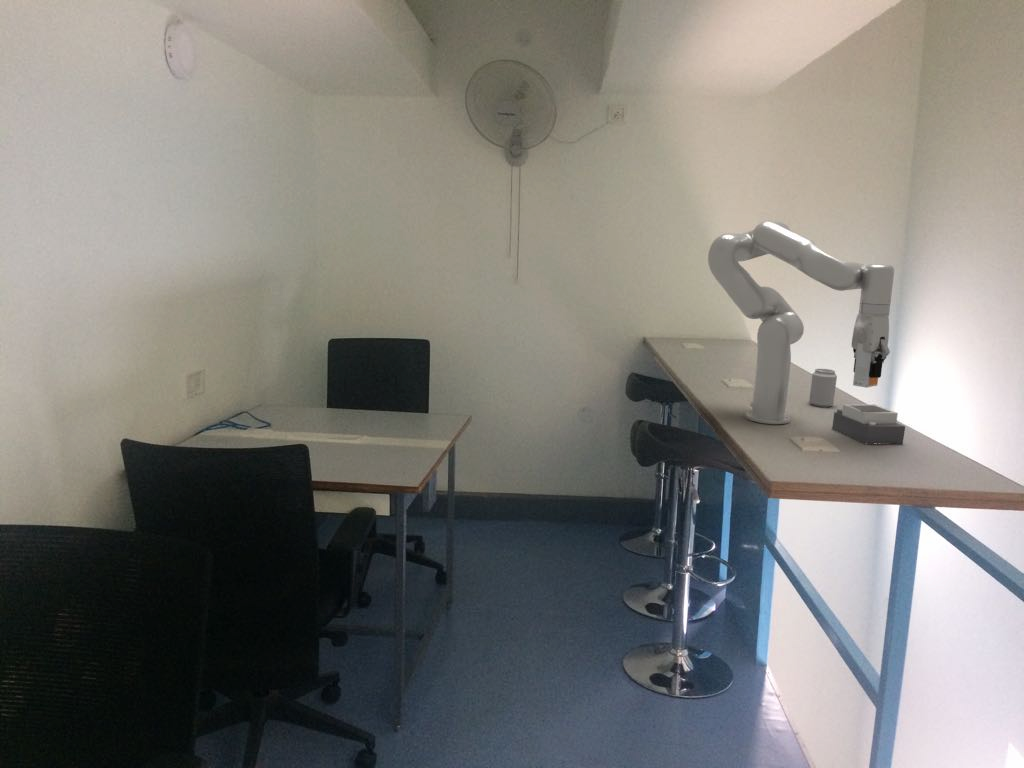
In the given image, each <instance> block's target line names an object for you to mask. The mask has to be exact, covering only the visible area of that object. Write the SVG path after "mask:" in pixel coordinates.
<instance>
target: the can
mask: <svg viewBox="0 0 1024 768" xmlns="http://www.w3.org/2000/svg"><path fill="white" fill-rule="evenodd" d="M837 378H838V375H837V374H836V371H835V370H833V369H830V368H829V369H828V368H815V369H814V372H813V373H812V375H811V383H810V392H809V401H808V402H809V403H810V404H811V405H812V406H814V407H818V408H830V407H831V406H833V405H834V403H835V402H834V401H835V394H836V387H837Z"/></svg>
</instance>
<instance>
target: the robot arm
mask: <svg viewBox="0 0 1024 768" xmlns="http://www.w3.org/2000/svg"><path fill="white" fill-rule="evenodd" d="M707 255H708V256H707V259H708V260H707V263H708V266H709V270H710V272H711V274H712V275H713V277H714V279H715V280H716V281H717V282H718V284H719V285H720V287H722V289H723V290H724V291H725V293H726V294H727V295H728V296H729V298H730V299H731V300H732V302H733V303H734V304H735V306H737V308H738V309H739V311H740V312H741V314H743V315H744V317H746V318H747V319H752V320H758V319H759V320H760V321H761V323H760V325H759V327H758V328H757V335H756V336H757V337H756V338H757V339H756V340H757V341H756V342H757V344H756V345H757V356H756V366H755V367H756V369H755V377H754V388H753V398H752V401H751V402H750V403H749V406H750V407H751V411H747V412H746V414H745V418H746V419H748V420H749V421H752V422H756V423H761V424H765V425H786V424H789V423H790V422H791V417H790V416H789V415H786V408H787V398H788V389H789V381H790V372H791V370H790V369H791V361H792V355H791V354H792V352H791V351H792V349H791V345H793V344H796V343H797V342H799V341H800V340H801V339H802V337H803V335H804V331H805V330H804V329H805V328H804V327H805V326H804V323H803V321H802V319H801V318H800V316H799V315H798V313H796V311H795V310H794V309H793V308H792V306H791V305H790V304H789V303H788V302H787V301H786V299H785V298H784V297H783V295H781V294H780V293H779V291H777V290H776V289H774V288H773V287H771V286H761V285H760V284H759V283H757V282H756V281H755V279H754V278H753V277H752V276H751V274H750V272H748V270H746V269H745V268H744V267H743V266H742V265H741V264H740V262H745V261H749V260H752V259H755V258H760V257H762V256H767V255H771V256H773V257H775V258H776V259H779V260H781V261H783V262H784V263H787V264H789V265H791V266H792V267H794V268H795V269H797V270H798V271H800V272H802V273H804V274H805V275H806V276H808V277H810V278H811V279H813V280H814V281H816V282H818V283H821V284H822V285H824V286H825V287H829V288H830V289H833V290H835V291H841V292H843V291H850V290H851V291H852V290H860V299H859V307H858V313H857V315H856V319H855V322H854V325H853V332H852V338H851V347H852V348H853V349H852V351H853V354H854V355H853V358H854V364H853V373H854V372H855V364H856V356H857V347H858V343H863V351H864V352H867V353H872V363H870V371H869V377H870V378H878V379H879V378H881V376H882V370H883V369H882V367H883V364H884V363H885V360H886V359H887V356H889V355H890V349H889V346H888V345H889V339H890V338H889V335H890V333H889V332H890V320H889V319H890V318H889V317H890V310H891V302H892V294H893V293H892V292H893V285H894V278H895V277H894V276H895V268H894V266H892V265H891V264H880V263H879V264H878V263H876V264H872V263H871V264H870V263H869V264H864V263H858V262H846V261H845V262H844V261H842V260H839V259H837V258H835V257H833V256H832V255H829V254H827V253H826V252H823V251H822V250H821V249H820V248H818V247H817V246H816V244H815V242H814V241H813V240H811V239H810V238H807V237H805V236H804V235H801V234H799V233H798V232H795V231H794V230H791V229H790V227H789V226H788V225H787V224H786V223H784V222H782V221H781V222H780V221H773V220H766V221H763V222H760V223H759V224H757V225H756V226H755V228H754V229H753V230H750V231H747V232H743V233H735V232H734V233H733V232H732V233H731V232H730V233H723V234H721V235H719V236H718V237H716V238H715V239H714V240H713V241H712V243H711V244H710V247H709V249H708V254H707ZM876 350H879V351H876ZM876 355H878V356H877V357H876Z"/></svg>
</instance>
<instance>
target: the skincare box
mask: <svg viewBox="0 0 1024 768" xmlns="http://www.w3.org/2000/svg"><path fill="white" fill-rule="evenodd" d="M876 351H879V350H876ZM877 356H878V355H876V357H877ZM870 363H872V353H867V352H864V351H863V343H858V347H857V356H856V364H855V372H853V373H854V374H853V382H852V383H853V384H852V386H856V387H862V388H866V389H867V388H872V387H877V386H878V382H879V378H870V377H869V371H870Z"/></svg>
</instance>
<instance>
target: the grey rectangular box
mask: <svg viewBox="0 0 1024 768" xmlns="http://www.w3.org/2000/svg"><path fill="white" fill-rule="evenodd" d="M831 426H832V427H831V428H832V430H833V431H836V432H838V433H840V432H841V433H840V434H842V433H843V434H842V435H844V436H847V435H848V436H847V437H849V436H850V438H851V437H852V438H851V439H853V438H855V439H856V441H858V440H859V441H858V442H860V441H861V442H860V443H862V442H864V443H867V444H869V445H875V444H874V443H877V444H876V445H879V444H878V443H881V444H880V445H883V444H882V443H904V438H905V437H904V436H905V430H906V426H905V425H903V424H900V423H898V412H896V411H893V410H891V409H888V408H886V407H883V406H880V405H877V404H875V403H874V404H871V403H870V404H867V403H866V404H843V405H842V408H838V409H837V410H836V412H835V411H834V412H833V418H832V425H831ZM855 439H854V440H855ZM864 443H863V444H864Z"/></svg>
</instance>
